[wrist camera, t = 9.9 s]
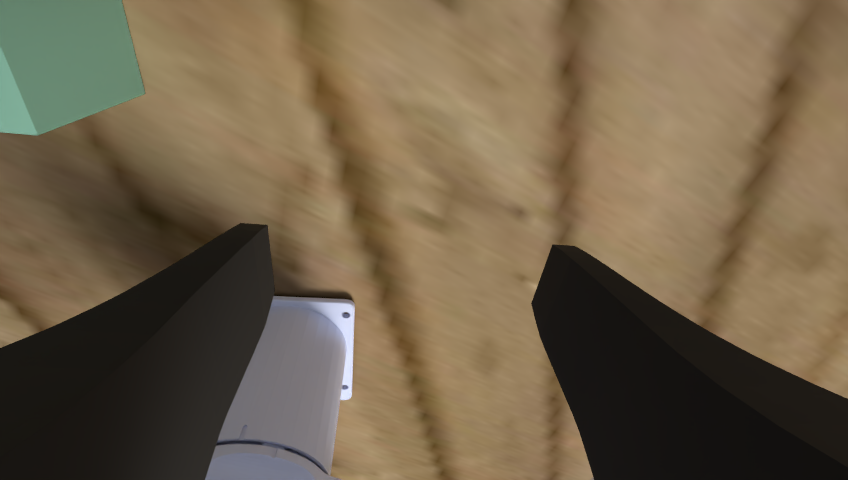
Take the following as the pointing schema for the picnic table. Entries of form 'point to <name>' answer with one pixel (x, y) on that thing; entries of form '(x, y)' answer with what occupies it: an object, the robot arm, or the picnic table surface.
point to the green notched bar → (63, 62)
